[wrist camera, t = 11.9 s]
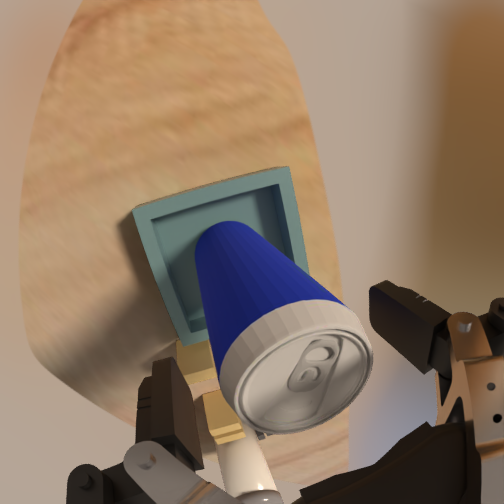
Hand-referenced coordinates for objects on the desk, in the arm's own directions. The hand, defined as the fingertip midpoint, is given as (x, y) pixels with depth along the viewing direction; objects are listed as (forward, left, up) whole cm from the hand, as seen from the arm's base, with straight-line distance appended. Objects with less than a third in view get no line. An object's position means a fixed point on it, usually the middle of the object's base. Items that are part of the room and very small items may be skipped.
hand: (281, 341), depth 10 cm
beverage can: (0, 0, -13) cm, 13 cm away
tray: (0, 0, -13) cm, 13 cm away
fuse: (+19, -5, -13) cm, 24 cm away
